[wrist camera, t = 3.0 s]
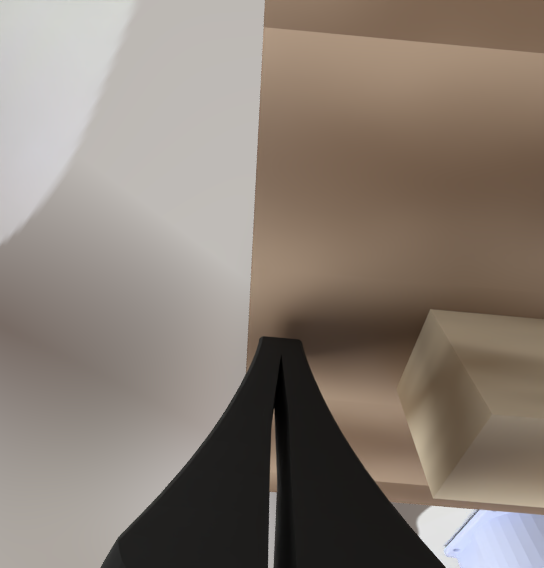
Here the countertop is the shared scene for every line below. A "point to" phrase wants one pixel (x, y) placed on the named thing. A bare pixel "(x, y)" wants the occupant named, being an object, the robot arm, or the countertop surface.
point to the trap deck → (394, 197)
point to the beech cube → (478, 407)
